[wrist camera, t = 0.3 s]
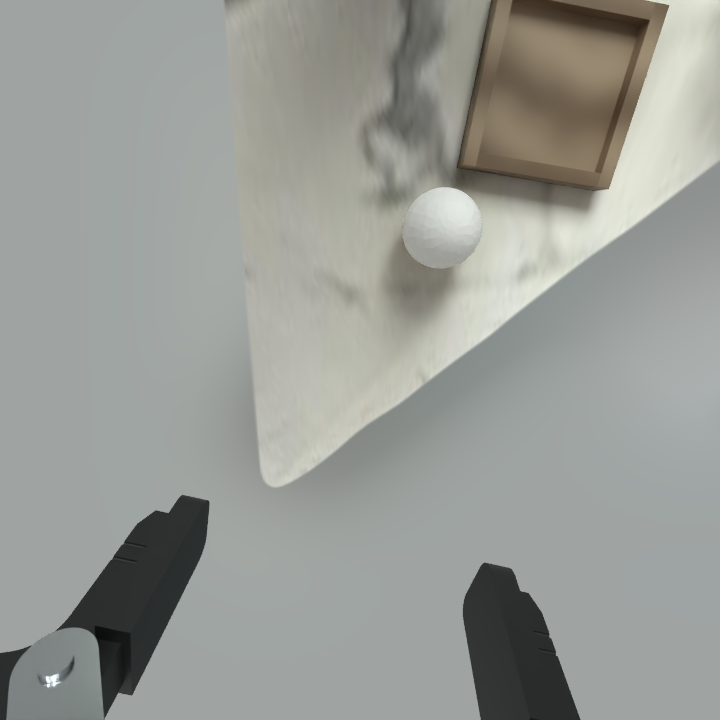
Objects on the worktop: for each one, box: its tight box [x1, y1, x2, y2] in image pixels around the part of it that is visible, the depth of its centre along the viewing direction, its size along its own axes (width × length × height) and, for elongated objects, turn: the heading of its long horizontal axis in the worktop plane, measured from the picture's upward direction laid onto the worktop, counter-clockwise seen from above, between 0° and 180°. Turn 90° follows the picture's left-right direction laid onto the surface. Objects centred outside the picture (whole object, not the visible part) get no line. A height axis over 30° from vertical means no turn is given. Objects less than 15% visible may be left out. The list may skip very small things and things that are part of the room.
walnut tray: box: [457, 0, 669, 191], centre depth 30 cm, size 12×12×2 cm
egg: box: [402, 187, 482, 269], centre depth 31 cm, size 6×6×8 cm
